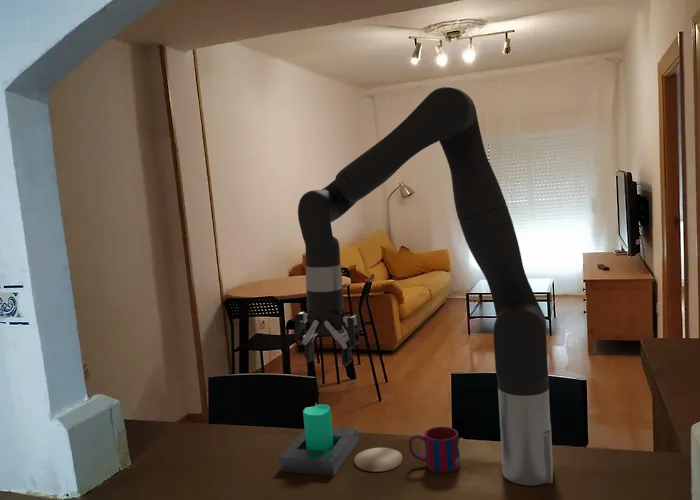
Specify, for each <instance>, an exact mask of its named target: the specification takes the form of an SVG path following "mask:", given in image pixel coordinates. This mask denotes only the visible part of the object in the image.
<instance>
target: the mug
mask: <svg viewBox="0 0 700 500" xmlns="http://www.w3.org/2000/svg"><path fill="white" fill-rule="evenodd" d="M414 439H419V440H421V441H423V442H424V447H425V448H424V449H425V450H424V451H425V456H422V455H418V454H417V453H415V451H414V450H413V446H412V442H413V440H414ZM459 440H460V439H459V432H458V430H457V429H455V428H453V427H450V426H449V427H448V426H435V427H434V426H433V427H431V428H429V429H427V430H426V431H424V435H422V434H414V435H412V436H411V437H410V439H409V442H408V449H409V453H410V454H411V455H412V457H414V458H415V459H417V460H419V461H422V462H425V463H426V467H427V469H428V470H429V471H431V472H433V473H437V474H450V473H453V472H455V471H457V470H459V469H460V468H461V458H460V441H459Z"/></svg>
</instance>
